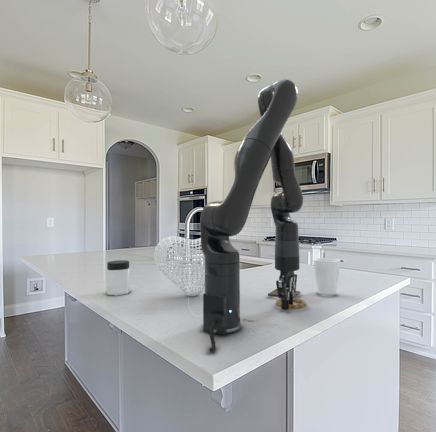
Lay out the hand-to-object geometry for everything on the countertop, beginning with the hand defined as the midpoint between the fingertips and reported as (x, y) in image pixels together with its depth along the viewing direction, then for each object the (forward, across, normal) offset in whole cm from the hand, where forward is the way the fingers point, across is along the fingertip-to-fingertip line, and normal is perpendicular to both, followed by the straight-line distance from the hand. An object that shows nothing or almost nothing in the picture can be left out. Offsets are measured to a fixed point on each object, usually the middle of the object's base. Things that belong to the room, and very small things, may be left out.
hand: (287, 309), depth 95 cm
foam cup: (0, -25, +7) cm, 26 cm away
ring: (-1, -4, 0) cm, 4 cm away
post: (0, -15, -6) cm, 16 cm away
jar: (0, +10, -64) cm, 65 cm away
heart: (0, 0, -36) cm, 36 cm away
